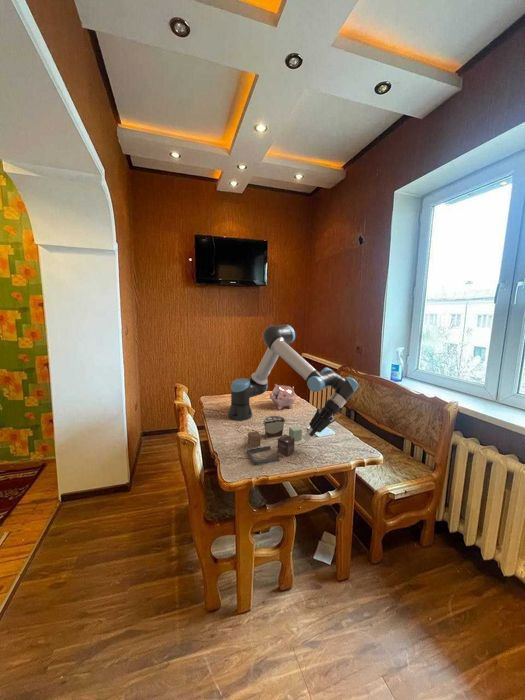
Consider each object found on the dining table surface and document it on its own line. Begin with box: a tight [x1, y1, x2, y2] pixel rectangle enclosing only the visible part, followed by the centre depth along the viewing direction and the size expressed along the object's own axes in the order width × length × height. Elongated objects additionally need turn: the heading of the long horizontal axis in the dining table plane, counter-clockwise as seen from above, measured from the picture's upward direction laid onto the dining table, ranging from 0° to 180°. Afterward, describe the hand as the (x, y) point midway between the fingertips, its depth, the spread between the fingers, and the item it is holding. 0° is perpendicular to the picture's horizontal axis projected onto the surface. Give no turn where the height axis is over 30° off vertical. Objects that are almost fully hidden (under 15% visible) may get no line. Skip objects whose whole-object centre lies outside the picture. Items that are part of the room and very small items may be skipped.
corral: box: [245, 445, 280, 466], centre depth 129 cm, size 11×12×2 cm
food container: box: [262, 415, 286, 439], centre depth 151 cm, size 12×6×10 cm, turn 111°
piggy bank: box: [269, 383, 296, 410], centre depth 194 cm, size 15×18×16 cm
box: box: [276, 434, 295, 457], centre depth 133 cm, size 6×6×7 cm
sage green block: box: [288, 425, 303, 442], centre depth 147 cm, size 5×5×6 cm
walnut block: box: [247, 430, 262, 449], centre depth 140 cm, size 5×5×6 cm
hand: (304, 439), depth 136 cm, fingers closed
